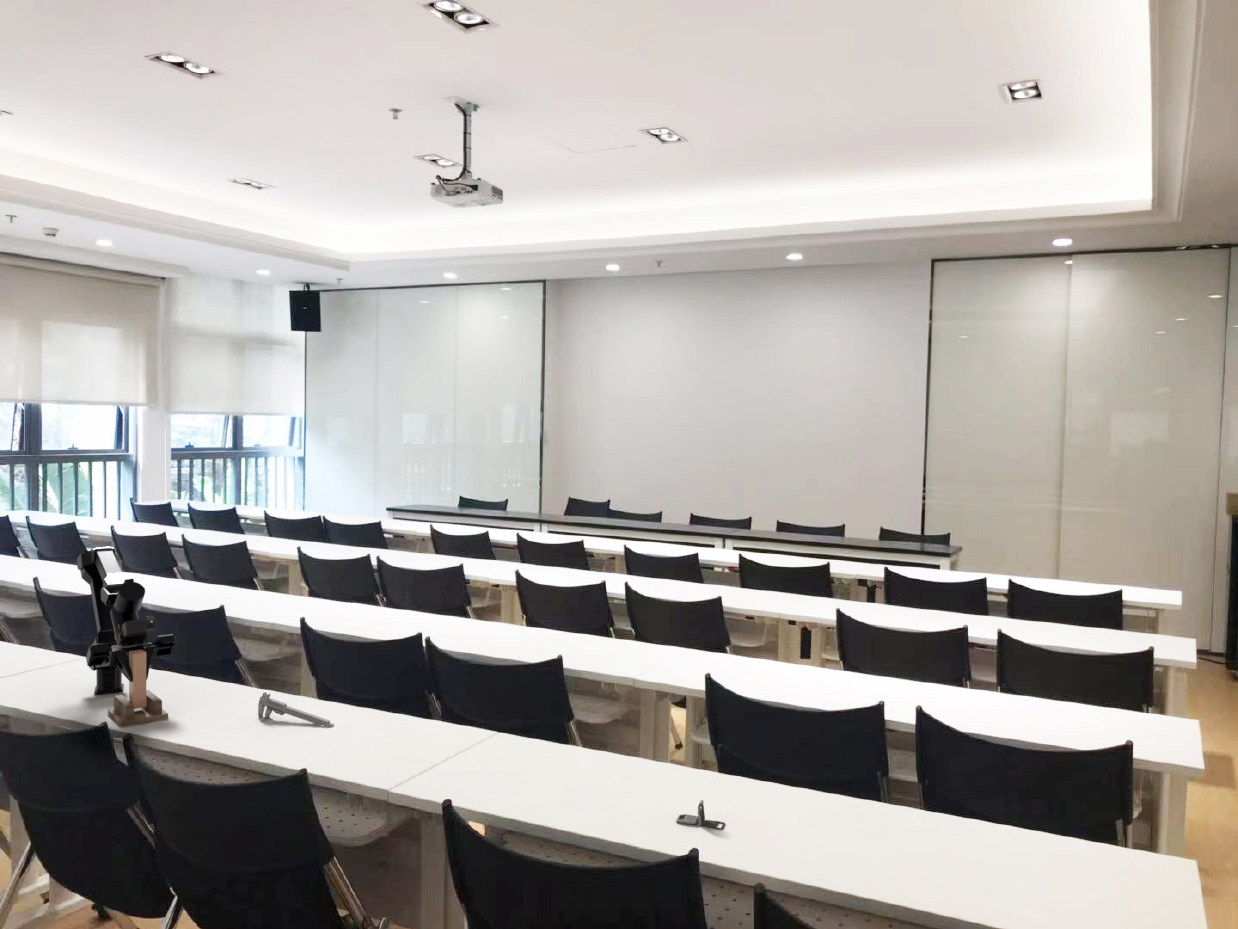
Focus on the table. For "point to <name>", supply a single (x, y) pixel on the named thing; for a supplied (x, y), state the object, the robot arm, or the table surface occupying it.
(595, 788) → the table surface
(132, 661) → the clay block
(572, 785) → the table surface
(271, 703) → the caliper
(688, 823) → the strap clip
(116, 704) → the slot rack
